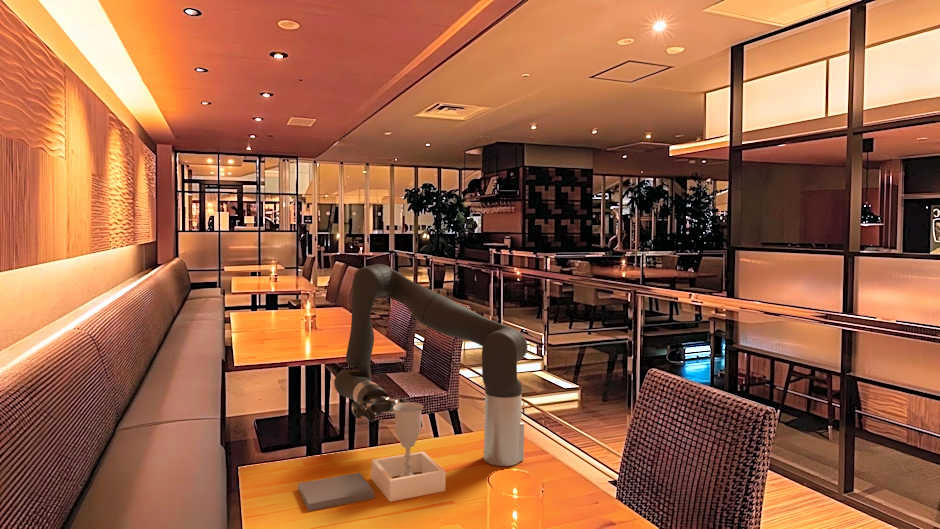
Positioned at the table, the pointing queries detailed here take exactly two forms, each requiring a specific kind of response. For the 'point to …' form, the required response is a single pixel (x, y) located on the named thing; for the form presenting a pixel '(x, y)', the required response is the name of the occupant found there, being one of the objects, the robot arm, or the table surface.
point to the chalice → (408, 428)
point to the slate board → (335, 491)
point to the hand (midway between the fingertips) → (390, 415)
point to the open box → (408, 485)
